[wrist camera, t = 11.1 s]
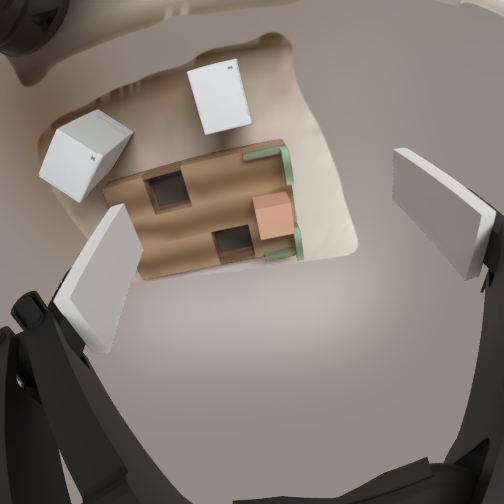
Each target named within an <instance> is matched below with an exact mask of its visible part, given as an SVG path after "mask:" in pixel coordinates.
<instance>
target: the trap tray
mask: <svg viewBox="0 0 504 504" xmlns="http://www.w3.org/2000/svg"><path fill="white" fill-rule="evenodd" d="M151 184H152V185H151ZM291 184H294V179H293V172H292V166H291V159H290V153H289V149H288V147H287V146H286V145H285V143H284V142H283V140H282V139H278V140H273V141H267V142H262V143H257V144H252V145H247V146H242V147H237V148H233V149H228V150H224V151H219V152H215V153H211V154H206V155H202V156H198V157H194V158H190V159H186V160H183V161H179V162H175V163H171V164H168V165H164V166H160V167H157V168H153V169H150V170H147V171H143V172H140V173H137V174H133V175H130V176H127V177H124V178H121V179H118V180H114V181H111V182H108V183H107V185H106V186H105V187H104V188H103V189H102V192H103V194H104V197H105V199H106V201H107V204H108V206H109V208H110V207H112V206H116V205H119V204H122V203H124V205H125V207H126V210H127V212H128V214H129V217H130V219H131V222H132V224H133V226H134V229H135V231H136V233H137V236H138V238H139V240H140V242H141V245H142V247H143V249H144V250H143V253H142V255H141V258H140V261H139V264H138V266H137V269H138V271H139V273H140V275H141V277H142V279H143V280H145V279H150V278H155V277H161V276H166V275H171V274H176V273H181V272H186V271H191V270H196V269H201V268H206V267H211V266H216V265H222V264H227V263H232V262H237V261H242V260H247V259H252V258H257V257H262V256H265V260H266V261H269V260H274V259H279V258H284V257H289V256H294V255H296V256H297V259H298V260H303V259H304V255H303V247H302V238H301V232H300V229H299V227H298V224H297V220H296V212H295V205H294V198H293V191H292V185H291ZM152 187H153V188H152ZM153 190H154V191H153ZM284 191H286V193H287V195H288V197H289V200H290V202H291V208H292V215H293V222H294V230H295V233H294V234H289V235H284V236H279V237H274V238H269V239H264V240H261V237H260V232H259V228H258V223H257V218H256V213H255V208H254V203H253V198H254V197H259V196H264V195H269V194H274V193H279V192H284ZM156 198H157V199H156ZM157 201H158V202H157ZM214 232H215V233H214ZM215 235H216V236H215ZM216 238H217V240H216ZM217 242H218V243H217ZM218 245H219V246H218ZM219 248H220V249H219ZM220 251H221V252H220Z"/></svg>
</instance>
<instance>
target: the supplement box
mask: <svg viewBox="0 0 504 504" xmlns="http://www.w3.org/2000/svg"><path fill="white" fill-rule="evenodd" d="M133 133H134V132H133V131H131V130H130V129H128V128H127V127H125V126H124V125H122V124H121V123H119V122H117V121H116V120H114V119H113V118H111V117H110V116H108V115H106V114H105V113H103V112H102V111H100V110H95V111H93V112H91V113H88V114H86V115H84V116H82V117H80V118H78V119H76V120H74V121H72V122H70V123H68V124H66V125H64V126H62V127H60V128H58V129H57V130H56V133H55V135H54V137H53V139H52V142H51V144H50V146H49V149H48V151H47V154H46V156H45V159H44V161H43V164H42V167H41V170H40V172H39V176H40V177H41V178H43V179H44V180H45V181H47V182H48V183H50V184H51V185H53V186H54V187H56V188H58V189H59V190H61V191H62V192H64V193H65V194H66V195H68V196H69V197H71V198H72V199H74V200H75V201H77V202H78V203H80V202H81V201H82V200H83V199H84V198H85V197H86V196H87V195H88V194H89V193H90V191H91V190H92V189H93V188H94V187H95V186H96V185H97V184H98V183H99V182H100V180H101V179H102V178H103V177H104V176H105V175H106V174H107V173H108V172H109V171H110V170H111V169H112V168H113V166H114V165H115V163H116V161H117V160H118V158H119V156H120V154H121V153H122V151H123V149H124V148H125V146H126V144H127V143H128V141H129V139H130V138H131V136H132V135H133Z"/></svg>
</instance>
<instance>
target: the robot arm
mask: <svg viewBox="0 0 504 504" xmlns="http://www.w3.org/2000/svg"><path fill="white" fill-rule="evenodd" d="M68 5H69V0H0V52H1V53H3V54H5V55H8V56H20V55H26V54H30V53H32V52H34V51H36V50H38V49H39V48H41V47H42V46H43V45H44V44H46V43H47V42H48V41H49V40H50V39H51V37H52V36H53V35H54V34H55V33H56V31H57V30H58V28H59V27H60V25H61V23H62V21H63V19H64V17H65V15H66V12H67V9H68ZM393 200H394V201H395V202H396V203H397V204H398V205H399V206H400V208H402V209H403V211H404V212H405V213H406V214H407V215H408V216H409V217H410V218H411V219H412V220H413V221H414V222H415V223H416V224H417V225H418V226H419V227H420V229H421V230H422V231H423V232H424V233H425V234H426V235H427V236H428V237H429V239H430V240H431V241H432V242H433V243H434V244H435V245H436V246H437V247H438V249H439V250H440V251H441V252H442V253H443V254H444V256H445V257H446V258H447V259H448V260H449V262H450V263H451V264H452V265H453V267H454V268H455V269H456V270H457V271H458V273H459V274H460V275H461V276H462V278H463V279H464V280H465V281H466V280H469V279H472V278H475V277H478V276H479V275H480V272H481V268H482V265H483V263H484V264H485V265H486V266H487V267H488V268H489V269H488V272H487V275H486V278H485V281H484V284H483V287H482V289H481V292H482V293H483V291H484V289H485V302H484V315H483V323H482V331H481V339H480V346H479V352H478V358H477V363H476V369H475V374H474V379H473V383H472V388H471V392H470V396H469V400H468V404H467V408H466V411H465V415H464V418H463V422H462V425H461V428H460V431H459V434H458V437H457V439H456V440H455V442H454V444H453V445H452V447H451V449H450V450H449V452H448V454H447V456H446V458H445V461H444V463H430V464H429V461H428V458H427V457H425V458H423V459H420V460H418V461H415V462H413V463H410V464H408V465H405V466H402V467H399V468H397V469H394V470H391V471H388V472H385V473H383V474H381V475H380V476H378V477H376V478H374V479H372V480H371V481H369V482H367V483H365V484H363V485H362V486H360V487H358V488H356V489H354V490H352V491H350V492H348V493H346V494H344V495H342V496H340V497H337V498H300V497H285V496H280V497H272V498H263V499H252V500H237V501H233V504H504V216H503V215H502V214H501V213H500V212H498V211H497V210H496V209H495V208H494V207H492V206H491V205H490V204H489V203H487V202H485V200H484V199H482V198H481V197H479V196H478V195H477V194H476V193H474V192H473V191H472V190H470V189H468V188H465V187H464V186H462V185H461V184H460V183H458V182H457V181H456V180H454V179H453V178H451V177H450V176H449V175H447V174H446V173H444V172H443V171H441V170H440V169H438V168H437V167H435V166H434V165H432V164H431V163H429V162H428V161H426V160H425V159H423V158H421V157H420V156H418V155H417V154H415V153H414V152H412V151H410V150H409V149H407V148H399V149H393ZM143 250H144V249H143V247H142V245H141V242H140V240H139V238H138V236H137V233H136V231H135V229H134V226H133V224H132V222H131V219H130V217H129V214H128V212H127V210H126V207H125V205H124V203H122V204H119V205H116V206H112V207H110V209H109V210H108V211H107V213H106V214H105V216H104V217H103V219H102V220H101V222H100V223H99V225H98V226H97V228H96V229H95V231H94V232H93V234H92V236H91V237H90V239H89V240H88V242H87V243H86V245H85V247H84V248H83V250H82V252H81V253H80V255H79V256H78V258H77V260H76V261H75V263H74V265H73V266H72V267H71V268H70V269H69V270H68V271H67V272H66V274H65V276H64V278H63V279H62V282H61V283H60V285H59V287H58V289H57V290H56V292H55V294H54V296H53V297H52V300H51V301H50V303H49V305H48V307H47V306H46V304H45V303H44V301H43V300H42V299H41V297H40V296H39V294H38V293H37V292H36V291H31V292H28V293H26V294H24V295H23V296H22V297H21V298H19V299H18V300H17V302H16V303H15V304H14V306H13V308H12V310H11V315H12V316H13V318H14V319H15V320H16V321H17V323H18V324H19V325H20V327H21V328H22V329H23V330H24V331H23V332H20V333H18V334H16V335H15V333H14V332H13V331H12V330H11V329H10V327H8V326H5V327H3V328H1V329H0V504H71V500H70V497H69V493H68V489H67V485H66V482H65V477H64V473H63V469H62V464H61V459H60V455H59V450H60V452H61V455H62V457H63V459H64V461H65V464H66V466H67V468H68V470H69V472H70V474H71V476H72V478H73V480H74V482H75V484H76V486H77V488H78V490H79V492H80V494H81V496H82V499H83V503H81V504H192V503H191V502H190V501H189V500H187V499H186V498H185V497H183V496H182V495H181V494H180V493H179V492H178V491H177V489H176V488H175V487H174V486H173V485H172V484H171V483H170V481H169V480H168V479H167V478H166V476H165V475H163V473H162V472H161V470H160V469H159V468H158V467H157V465H156V464H155V463H154V461H153V460H152V459H151V458H150V456H149V455H148V454H147V452H146V451H145V449H144V448H143V447H142V446H141V444H140V443H139V441H138V440H137V438H136V437H135V436H134V434H133V433H132V431H131V430H130V429H129V427H128V425H127V424H126V422H125V421H124V419H123V418H122V416H121V415H120V413H119V412H118V410H117V408H116V407H115V405H114V404H113V402H112V400H111V399H110V397H109V396H108V394H107V392H106V390H105V389H104V387H103V385H102V384H101V382H100V380H99V378H98V376H97V375H96V373H95V371H94V369H93V367H92V365H91V363H90V362H89V360H88V358H87V357H86V356H85V354H84V353H83V350H84V347H85V344H86V345H87V347H88V348H89V349H90V350H91V351H92V353H93V354H103V353H110V351H111V347H112V344H113V340H114V337H115V333H116V330H117V327H118V323H119V320H120V317H121V314H122V311H123V307H124V304H125V301H126V298H127V295H128V292H129V289H130V286H131V283H132V280H133V278H134V275H135V272H136V269H137V266H138V264H139V261H140V258H141V255H142V253H143ZM16 378H17V379H18V380H19V381H20V382H21V383H22V384H21V385H22V386H20V385H19V384H18V382H17V379H16Z"/></svg>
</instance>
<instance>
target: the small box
mask: <svg viewBox="0 0 504 504" xmlns="http://www.w3.org/2000/svg"><path fill="white" fill-rule="evenodd" d="M187 76H188V79H189V83H190V86H191V90H192V93H193V97H194V100H195V104H196V107H197V110H198V114H199V117H200V121H201V124H202V128H203V131H204V134H205V135H209V134H213V133H217V132H221V131H225V130H229V129H234V128H238V127H242V126H247V125H251V124H252V120H251V116H250V113H249V109H248V105H247V101H246V97H245V93H244V88H243V84H242V80H241V76H240V72H239V68H238V63H237V59H233V60H228V61H223V62H219V63H215V64H211V65H208V66H204V67H201V68H197V69H194V70H191V71H188V72H187Z"/></svg>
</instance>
